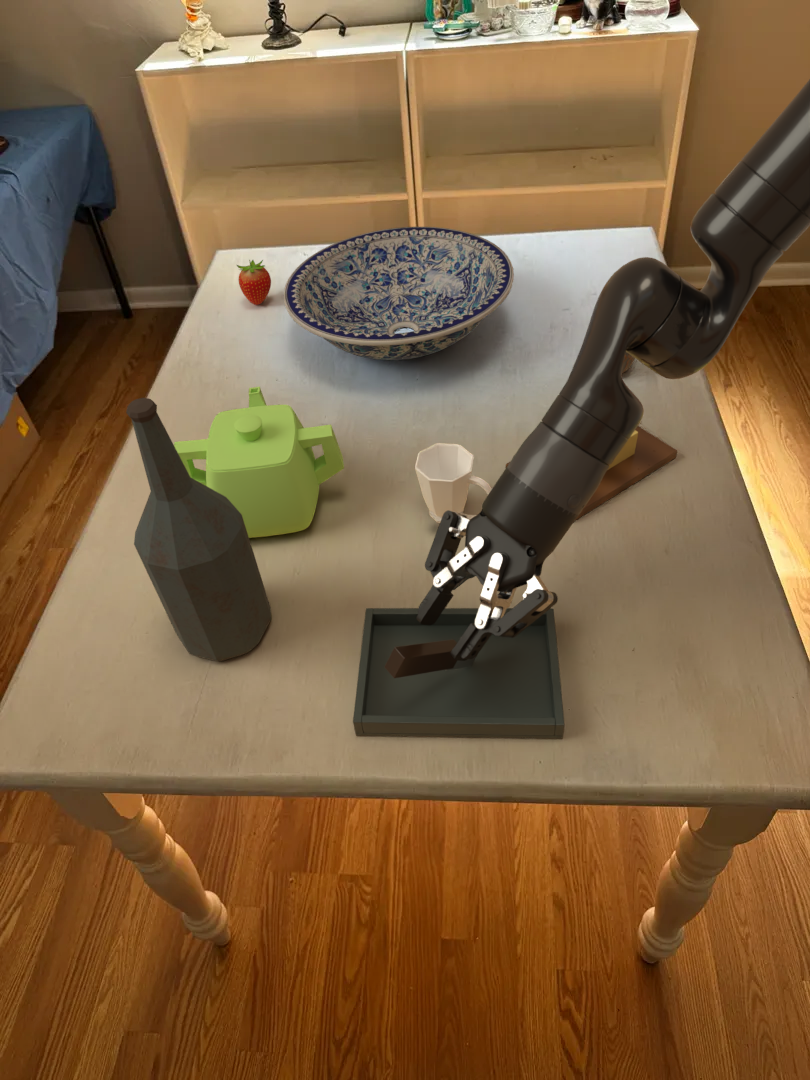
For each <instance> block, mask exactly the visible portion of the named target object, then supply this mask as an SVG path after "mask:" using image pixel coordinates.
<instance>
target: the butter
mask: <svg viewBox="0 0 810 1080" xmlns="http://www.w3.org/2000/svg"><path fill="white" fill-rule="evenodd" d="M637 437H638V432H637V431H636V430H635V431H634V432H633V434H632V435H631V437H630V438H629V439H628V441H627V442H626V444H625V445H624V446H623V448H622V449H621V451H620V452H619V454H618V455H617V456H616V458H615V459H614V461H613V462H612V464H611V465H609V464H608V465H609V468H608V469H610V468H612V467H613V466H615V465H617V464H618V463H620V462H622V461H623V460H625V459H627V458H628V457H630V456H632V455H633V454H634V453H635V448H636V442H637Z"/></svg>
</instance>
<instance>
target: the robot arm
mask: <svg viewBox="0 0 810 1080" xmlns="http://www.w3.org/2000/svg"><path fill="white" fill-rule="evenodd" d="M689 227H690V234H691V236H692V239H693V240H694V242H695V243H696V244H697V246H698V247H699V249H700V250H701V251H702V252H703V253H704V255H705V256H706V257H707V258H708V260H709V261H710V264H711V266H710V270H709V274H708V276H707V279H706V281H705V283H704V285H703V286H702V288H701V289H698V287H696V286H694V285H693V284H692V283H691V282H689V281H688V280H687V279H684V277H682V276H681V275H679V274H678V273H677V272H676V271H675V270H673V269H672V268H670V267H669V266H668V265H666V264H665V263H664V262H662V261H661V260H658V259H656V258H655V257H648V256H643V257H637V258H635V259H632V260H630V261H628V262H626V263H625V264H623V265H621V266H620V267H619V268H618V269H617V270H616V271H615V272H614V273H613V274H611V276H610V277H609V279H608V280H607V281H606V283H605V284H604V285H603V287H602V289H601V291H600V292H599V295H598V298H597V299H596V303H595V305H594V308H593V311H592V314H591V317H590V320H589V323H588V326H587V329H586V331H585V336H584V338H583V341H582V343H581V346H580V349H579V351H578V354H577V357H576V360H575V362H574V364H573V367H572V369H571V371H570V373H569V376H568V378H567V380H566V382H565V384H563V387H562V388H561V390H560V391H559V393H558V395H557V396H556V398H555V399H554V401H553V402H552V403H551V405H550V406H549V408H548V409H547V411H546V412H545V414H544V415H543V417H542V418H541V421H540V422H539V423H538V424H537V425H536V427H535V428H534V429H533V430H532V431H531V432H530V433H529V435H528V436H527V437H526V438H525V440H523V442H522V444H520V446H519V448H518V449H517V451H516V452H515V453H514V455H513V457H512V458H511V460H510V461H509V462H510V463H509V462H508V463H509V464H508V466H507V467H506V466H505V469H504V470H503V472H502V473H501V475H500V476H499V478H498V479H497V480H496V482H495V484H494V485H493V486H492V487H491V488H492V490H491V491H490V493H489V494H487V496H486V497H485V499H484V500H483V502H482V503H481V510H480V512H478V515H477V514H475V515H476V516H475V517H473V518H471V519H468V518H467V517H466V516H465V515H462V514H460V513H457V512H452V511H449V510H448V511H446V512H445V513H444V514H443V516H442V519H441V522H440V523H438V524H439V526H438V527H437V530H436V532H435V535H434V538H433V542H432V543H431V546H430V549H429V551H428V554H427V557H426V560H425V563H424V569H425V570H426V571H429V572H430V574H431V576H432V586H431V588H430V589H429V590H428V592H427V593H426V595H425V596H424V598H423V599H422V601H421V602H420V604H419V605H418V607H417V608H418V611H417V612H418V613H419V614H418V615H417V617H416V619H417V620H418V621H419V622H420V624H422V625H429V626H431V625H433V624H434V623H435V622H436V621H437V619H438V618H439V616H440V615H441V613H442V612H443V610H444V609H445V608H447V606H448V605H449V603H450V602H451V600H452V598H453V597H454V596H455V595H454V594H453V593H452V592H453V591H456V590H457V589H458V588H459V587H461V586H462V585H463V584H464V583H466V581H468V580H471V579H473V578H475V577H476V578H477V579H478V581H479V583H480V584H481V585H482V589H481V592H480V595H479V601H480V603H479V607H478V608H479V610H478V612H477V615H476V618H475V623H471V624H470V625H469V626H468V628H467V629H466V631H465V632H464V634H463V635H462V637H461V638H460V639H459V641H458V642H457V644H456V645H455V647H454V648H453V650H452V651H451V653H450V655H451V656H452V657H453V658H454V659H455V660H459V661H466V660H467V659H473V658H475V657H476V656H477V654H478V653H479V651H480V650H481V649H482V647H483V646H484V645H485V643H486V642H487V640H488V639H489V637H490V636H491V635H492V634H494V635H495V636H500V637H509V638H514V637H515V636H517V635H518V634H519V633H520V632H522V631H523V630H524V629H525V628H527V627H528V626H529V625H530V624H532V623H533V622H534V621H535V620H537V619H538V618H539V617H540V616H541V615H543V614H544V613H545V612H546V611H548V610H549V609H550V608H553V607H554V606H555V605H556V604H557V603H558V601H559V597H558V594H557V593H556V592H554V591H550V590H549V588H548V587H547V586H546V585H545V583H544V581H543V580H542V578H541V577H540V576H541V575H542V571H543V566H544V563H545V561H546V559H548V557H549V556H550V555H551V554H552V553H553V552H554V551H555V549H557V547H558V545H559V544H560V542H561V541H562V540H563V539H564V537H565V536H566V534H567V532H568V531H569V530H570V528H571V527H572V525H573V524H574V523H575V521H577V520H576V518H577V517H578V515H579V514H580V513H581V511H582V510H583V508H584V507H585V506H586V504H587V503H588V501H589V500H590V498H591V497H592V496H593V494H594V493H595V491H596V490H597V488H598V486H599V484H600V482H601V480H602V478H603V477H604V475H605V473H606V471H607V470H608V468H609V465H611V464H612V462H613V461H614V459H615V458H616V456H617V455H618V454H619V452H620V451H621V449H622V448H623V446H624V445H625V444H626V442H627V441H628V439H629V438H630V437H631V435H632V434H633V432H634V431H635V429H636V428H637V426H639V425H640V424H641V422H642V420H643V416H644V413H645V411H644V410H645V409H644V406H643V404H642V402H641V401H640V399H639V398H638V397H637V395H635V393H634V392H633V391H632V390H631V389H630V388H629V386H627V384H626V383H625V381H624V379H623V373H622V366H623V360H624V356H625V353H626V352H627V353H628V354H630V355H631V356H633V357H634V358H635V360H637V361H638V362H639V363H641V364H642V365H644V366H646V367H647V368H648V369H650V370H651V371H653V372H654V373H656V374H657V375H659V376H661V377H663V378H665V379H668V380H679V379H684V378H687V377H690V376H693V375H694V374H696V373H698V372H699V371H701V370H703V369H704V368H705V367H707V366H708V365H709V364H710V363H711V362H712V361H713V360H714V359H715V357H716V356H717V355H718V354H719V352H720V351H721V349H722V347H723V346H724V344H725V343H726V341H727V340H728V338H729V336H730V335H731V333H732V331H733V329H734V327H735V325H736V324H737V322H738V320H739V319H740V316H741V315H742V313H743V311H744V310H745V308H746V306H747V305H748V303H749V301H750V300H751V299H752V297H753V296H754V294H755V292H756V291H757V289H758V287H759V286H760V284H761V283H762V281H763V279H764V278H765V277H766V275H767V274H768V272H769V270H770V269H771V268H772V267H773V265H774V264H775V263H776V262H777V261H778V260H779V259H780V258H781V257H782V256H783V255H784V252H786V251H788V250H789V249H790V248H791V246H792V245H793V244H795V242H796V241H797V240H798V239H799V238H800V237H801V236H802V235H803V234H804V233H805V232H806V231H807V230H808V229H809V227H810V78H809V79H808V80H807V82H806V83H805V84H804V86H802V88H801V89H800V90H799V91H798V93H797V94H795V96H794V98H793V99H792V100H791V101H790V102H789V103H788V105H787V106H786V107H785V108H784V110H783V111H782V112H780V114H779V115H778V116H777V118H776V119H775V120H774V121H773V123H772V124H771V125H770V126H769V127H768V128H767V129H766V130H765V132H764V133H763V134H762V135H761V136H760V137H759V138H758V140H757V141H756V142H755V143H754V145H752V146H751V148H750V149H749V150H748V152H746V153H745V155H744V156H742V158H741V159H740V161H739V162H738V163H737V164H736V165H735V166H734V167H733V168H732V170H731V171H730V172H729V173H728V174H727V175H726V177H725V178H724V179H723V180H722V181H721V182H720V184H719V185H718V186H717V187H716V188H715V189H714V192H713V193H711V194H710V195H709V197H708V198H707V199H706V200H705V201H704V202H703V204H702V205H701V206H700V207H699V208H698V210H697V211H696V213H695V214H694V215H693V217H692V219H691V222H690V226H689ZM608 464H609V465H608ZM464 537H465V540H464V548H462V549H461V550H460V551H459V552H458V553H457V551H458V549H459V547H460V544H461V541H462V539H463V538H464ZM526 585H527V586H526ZM522 586H526V590H525V591H524V592H523V593H522V594H521V597H522V600H521V601H519V602H518V603H517V604H516V605H515V606H514V607H511V608H512V609H511V610H510V611H509V612H508V613H506V614H505V611H506V609H507V608H510V606H511V605H512V602H513V599H514V596H515V593H516V591H517V588H520V587H522ZM497 592H498V593H497ZM504 614H505V615H504Z"/></svg>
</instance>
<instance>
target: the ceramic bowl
mask: <svg viewBox="0 0 810 1080" xmlns="http://www.w3.org/2000/svg"><path fill="white" fill-rule="evenodd" d="M514 280H515V272H514V266H513V264H512V261H511V260H510V258H509V256H508V255H507V253H506V252H505V251H504V250H503V249H502V248H501V247H500V246H498V245H496V244H495V243H494V242H492V241H490V240H488V239H487V238H484V237H482V236H479V235H477V234H474V233H471V232H467V231H463V230H459V229H454V228H447V227H439V226H438V227H437V226H402V227H393V228H392V227H391V228H385V229H379V230H373V231H370V232H369V231H368V232H364V233H361V234H357V235H354V236H350V237H347V238H344V239H341V240H339V241H337V242H334V243H332V244H330V245H328V246H326V247H324V248H322V249H319V251H317V252H315V253H314V254H312V255H311V256H308V257H307V258H306V259H305V260H304V261H303V262H302V263H300V264H299V265H297V267H296V268H294V270H293V272H292V273H291V274H290V276H289V277H288V279H287V281H286V283H285V287H284V290H283V302H284V304H283V305H284V307H285V309H286V311H287V313H288V314H289V316H290V318H291V319H292V320H293V321H294V322H295V323H296V325H298V326H300V327H301V328H303V329H304V330H306V331H307V332H309V333H311V334H313V335H315V336H318V337H320V338H322V339H324V340H325V341H326V342H327V343H329V344H330V345H333V346H335V347H336V348H338V349H340V350H342V351H344V352H346V353H349V354H352V355H354V356H358V357H362V358H366V359H373V360H378V361H379V360H380V361H400V360H401V361H402V360H409V359H410V360H411V359H416V358H421V357H424V356H428V355H432V354H434V353H437V352H440V351H442V350H444V349H447V348H449V347H451V346H452V345H454V344H456V343H457V342H459V341H461V340H462V339H464V338H465V337H467V336H468V335H469V334H470V333H471V332H473V330H475V329H476V328H477V327H478V326H479V325H480V324H481V323H482V321H483V320H484V319H485V318H487V317H488V316H489V315H490V314H491V313H493V312H494V311H495V310H496V309H497V308H498V307H500V306H501V305H502V304H503V303H504V301H505V300H506V299H507V297H508V296H509V294H510V292H511V290H512V288H513V285H514ZM401 328H402V329H403V328H410V329H413V330H412V331H406V332H398V333H397V332H396V333H394V332H395V330H398V329H401Z"/></svg>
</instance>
